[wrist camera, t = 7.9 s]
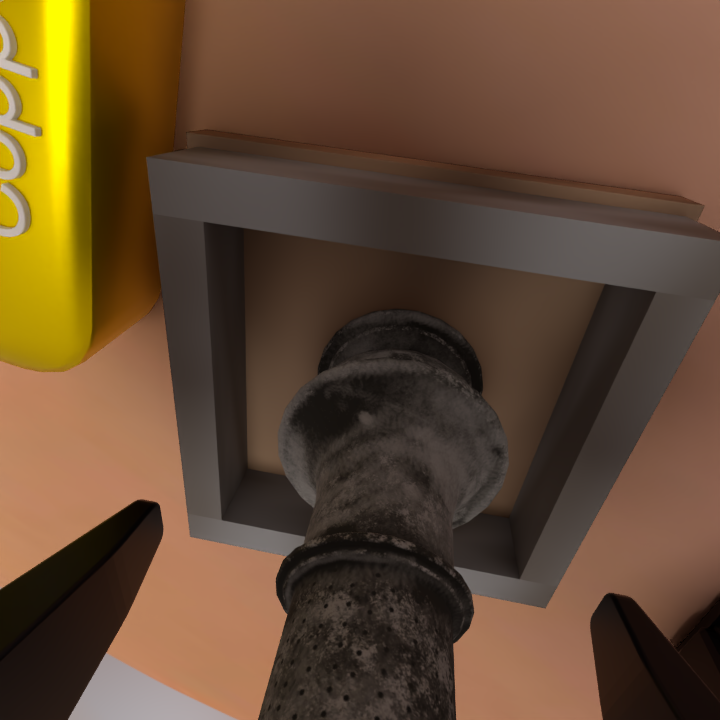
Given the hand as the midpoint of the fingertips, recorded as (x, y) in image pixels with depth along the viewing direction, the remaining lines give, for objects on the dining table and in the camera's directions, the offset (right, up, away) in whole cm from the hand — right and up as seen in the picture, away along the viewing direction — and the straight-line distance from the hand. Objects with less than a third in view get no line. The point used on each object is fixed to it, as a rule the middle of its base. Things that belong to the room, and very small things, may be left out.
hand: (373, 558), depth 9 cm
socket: (+1, +4, +7) cm, 8 cm away
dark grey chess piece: (+1, +3, +6) cm, 7 cm away
